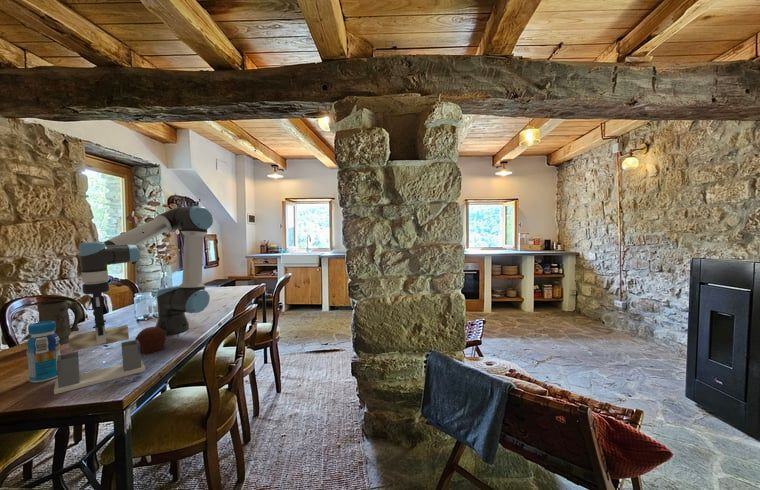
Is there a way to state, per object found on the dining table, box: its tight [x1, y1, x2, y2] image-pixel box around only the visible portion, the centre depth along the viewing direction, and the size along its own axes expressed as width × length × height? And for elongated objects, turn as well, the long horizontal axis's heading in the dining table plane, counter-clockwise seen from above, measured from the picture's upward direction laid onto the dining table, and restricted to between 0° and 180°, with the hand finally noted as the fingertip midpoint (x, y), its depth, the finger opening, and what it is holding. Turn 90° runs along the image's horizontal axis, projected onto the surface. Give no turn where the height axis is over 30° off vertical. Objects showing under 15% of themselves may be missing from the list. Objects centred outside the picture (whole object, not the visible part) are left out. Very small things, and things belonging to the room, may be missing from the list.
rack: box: [53, 339, 146, 395], centre depth 115 cm, size 24×10×10 cm, turn 133°
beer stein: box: [36, 300, 82, 346], centre depth 152 cm, size 15×11×20 cm
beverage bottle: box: [25, 321, 61, 383], centre depth 115 cm, size 8×8×20 cm
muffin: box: [134, 326, 167, 355], centre depth 139 cm, size 12×11×10 cm
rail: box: [68, 324, 130, 352], centre depth 123 cm, size 17×4×5 cm, turn 133°
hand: (101, 341), depth 124 cm, fingers closed on rail, 4 cm apart
